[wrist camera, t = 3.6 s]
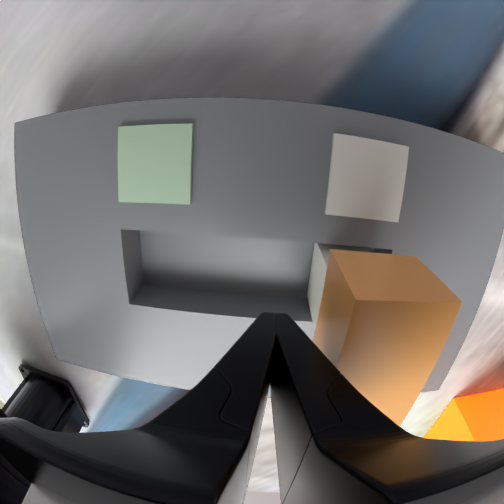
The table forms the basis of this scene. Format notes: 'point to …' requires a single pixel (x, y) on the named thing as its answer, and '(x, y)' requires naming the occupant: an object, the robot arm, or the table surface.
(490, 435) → the orange juice
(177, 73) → the table surface
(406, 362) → the lever
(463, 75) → the table surface
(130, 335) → the breaker box
